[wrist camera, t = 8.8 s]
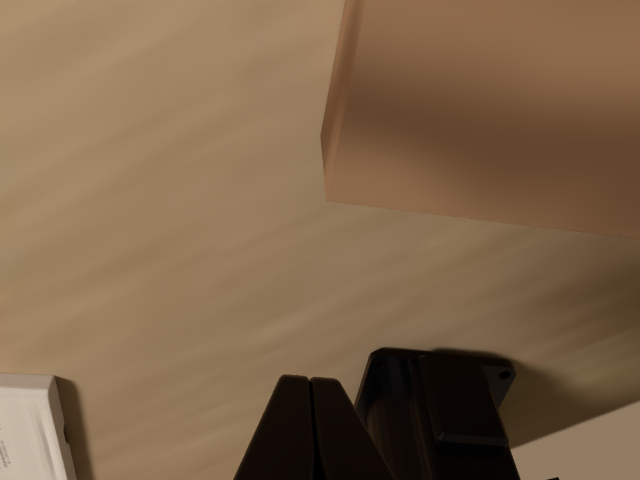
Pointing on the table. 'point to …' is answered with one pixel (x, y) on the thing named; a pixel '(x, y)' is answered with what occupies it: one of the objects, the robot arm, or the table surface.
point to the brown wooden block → (489, 111)
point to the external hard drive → (32, 430)
